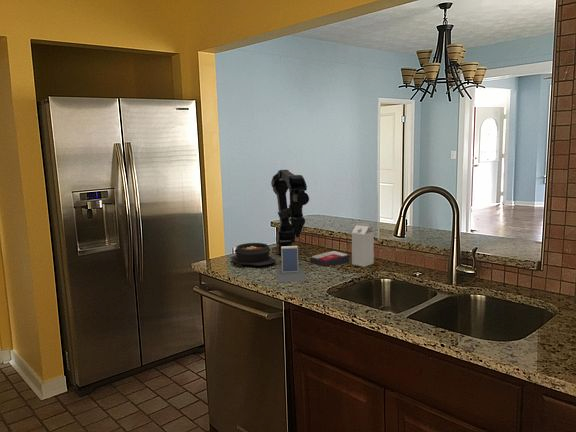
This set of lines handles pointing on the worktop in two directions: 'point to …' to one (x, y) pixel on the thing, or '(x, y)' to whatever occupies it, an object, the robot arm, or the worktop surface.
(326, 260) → the calculator
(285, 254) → the box
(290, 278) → the mat
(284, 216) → the robot arm
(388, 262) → the worktop surface
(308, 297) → the worktop surface
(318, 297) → the worktop surface
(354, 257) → the milk carton
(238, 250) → the casserole
